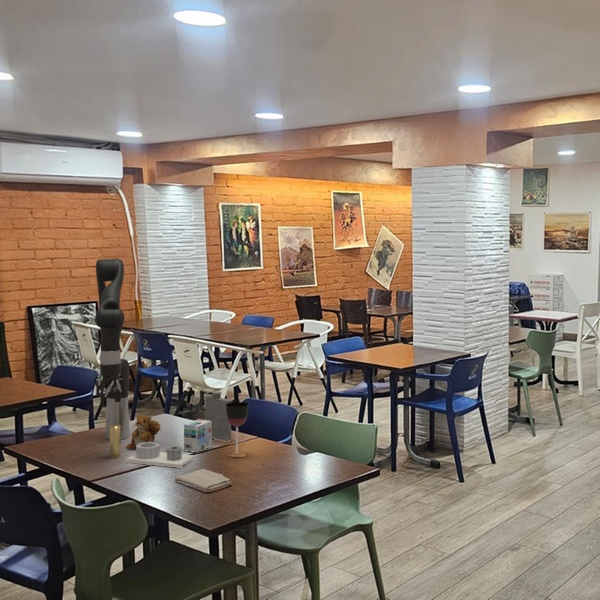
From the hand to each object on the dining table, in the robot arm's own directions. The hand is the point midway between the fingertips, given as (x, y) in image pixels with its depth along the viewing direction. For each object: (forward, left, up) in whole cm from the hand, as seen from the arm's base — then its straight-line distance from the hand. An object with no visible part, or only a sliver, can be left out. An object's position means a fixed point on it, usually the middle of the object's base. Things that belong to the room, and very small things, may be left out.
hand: (110, 404), depth 261 cm
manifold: (-2, +20, -20) cm, 29 cm away
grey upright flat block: (-37, +27, -21) cm, 51 cm away
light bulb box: (-21, +26, -21) cm, 39 cm away
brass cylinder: (-1, +1, -20) cm, 20 cm away
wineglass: (-18, +44, -21) cm, 52 cm away
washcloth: (+16, +46, -21) cm, 53 cm away
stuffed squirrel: (-18, +4, -21) cm, 28 cm away
